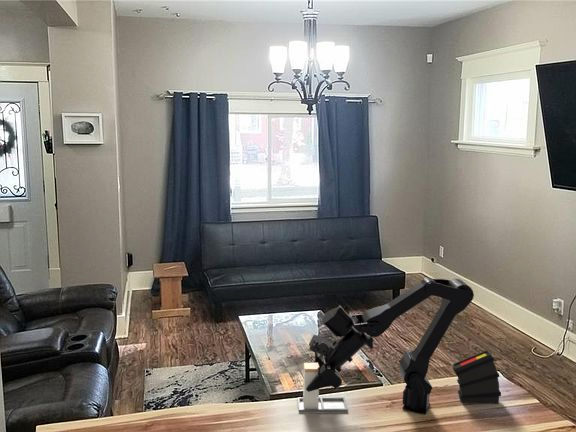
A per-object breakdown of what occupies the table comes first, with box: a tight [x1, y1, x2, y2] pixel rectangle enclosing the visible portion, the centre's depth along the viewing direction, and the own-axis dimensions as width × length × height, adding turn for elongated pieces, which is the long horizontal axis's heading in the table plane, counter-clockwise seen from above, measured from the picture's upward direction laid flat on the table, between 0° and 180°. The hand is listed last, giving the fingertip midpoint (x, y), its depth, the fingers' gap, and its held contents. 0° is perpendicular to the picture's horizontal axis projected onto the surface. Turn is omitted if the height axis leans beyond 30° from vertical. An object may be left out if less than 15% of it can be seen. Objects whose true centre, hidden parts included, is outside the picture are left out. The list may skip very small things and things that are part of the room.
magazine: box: [452, 350, 502, 405], centre depth 167 cm, size 4×13×15 cm, turn 88°
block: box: [302, 362, 320, 409], centre depth 161 cm, size 4×4×12 cm
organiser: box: [296, 396, 349, 414], centre depth 162 cm, size 14×7×2 cm, turn 92°
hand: (306, 384), depth 161 cm, fingers open, 6 cm apart
